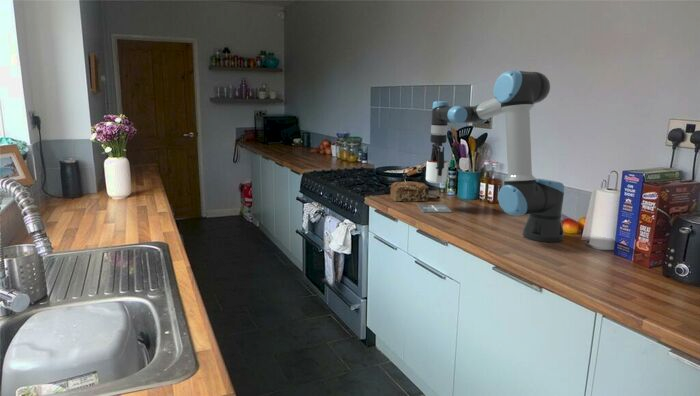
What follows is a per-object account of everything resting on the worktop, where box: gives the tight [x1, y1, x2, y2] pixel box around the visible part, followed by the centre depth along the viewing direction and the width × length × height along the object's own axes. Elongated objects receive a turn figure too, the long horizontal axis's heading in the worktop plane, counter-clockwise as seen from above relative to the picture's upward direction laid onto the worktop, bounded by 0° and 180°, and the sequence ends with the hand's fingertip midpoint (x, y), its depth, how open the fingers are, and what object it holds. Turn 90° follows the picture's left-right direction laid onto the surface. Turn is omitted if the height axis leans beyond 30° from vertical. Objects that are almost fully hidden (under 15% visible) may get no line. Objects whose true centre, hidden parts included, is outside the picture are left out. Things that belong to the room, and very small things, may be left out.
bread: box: [390, 180, 430, 203], centre depth 250 cm, size 19×11×10 cm, turn 101°
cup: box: [425, 159, 449, 184], centre depth 227 cm, size 10×10×10 cm
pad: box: [417, 204, 453, 214], centre depth 231 cm, size 14×14×1 cm
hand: (436, 180), depth 228 cm, fingers closed on cup, 10 cm apart
